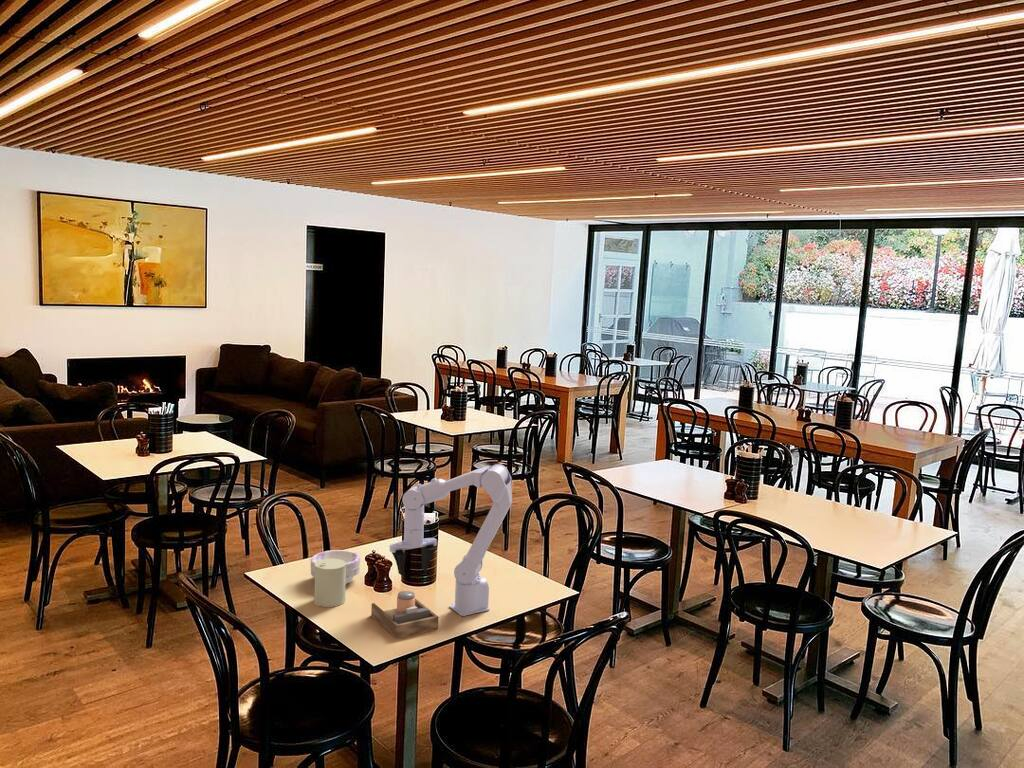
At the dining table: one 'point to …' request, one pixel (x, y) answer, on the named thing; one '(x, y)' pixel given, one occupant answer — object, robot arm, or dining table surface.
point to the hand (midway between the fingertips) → (412, 571)
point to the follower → (411, 615)
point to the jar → (405, 600)
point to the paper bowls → (348, 556)
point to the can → (330, 582)
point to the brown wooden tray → (407, 627)
